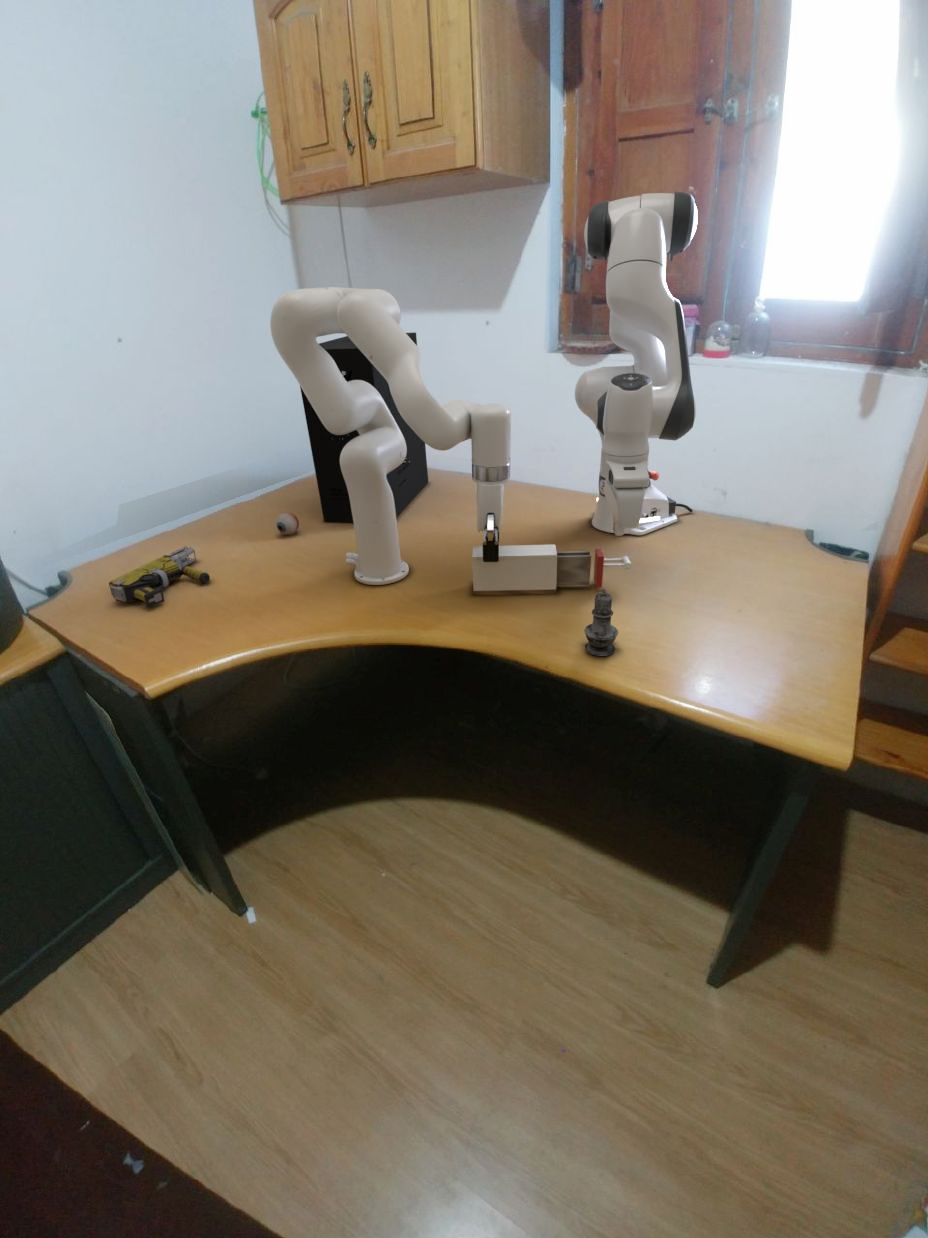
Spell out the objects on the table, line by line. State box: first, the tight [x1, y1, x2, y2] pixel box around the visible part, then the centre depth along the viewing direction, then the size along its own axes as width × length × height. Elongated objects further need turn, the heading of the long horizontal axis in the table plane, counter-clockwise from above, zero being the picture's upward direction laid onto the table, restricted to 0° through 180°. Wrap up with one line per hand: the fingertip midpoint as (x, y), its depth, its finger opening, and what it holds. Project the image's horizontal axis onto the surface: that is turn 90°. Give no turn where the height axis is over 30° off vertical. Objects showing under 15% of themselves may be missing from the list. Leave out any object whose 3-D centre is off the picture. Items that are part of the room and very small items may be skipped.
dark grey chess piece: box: [583, 588, 619, 657], centre depth 105 cm, size 6×6×12 cm
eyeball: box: [275, 511, 300, 536], centre depth 163 cm, size 6×6×6 cm
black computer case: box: [299, 332, 429, 523], centre depth 175 cm, size 38×20×45 cm, turn 167°
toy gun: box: [108, 545, 211, 609], centre depth 140 cm, size 5×24×15 cm
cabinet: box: [471, 543, 558, 596], centre depth 128 cm, size 18×6×9 cm, turn 87°
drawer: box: [556, 547, 633, 589], centre depth 127 cm, size 22×4×7 cm, turn 87°
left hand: (491, 551), depth 127 cm, fingers open, 9 cm apart
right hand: (618, 532), depth 123 cm, fingers closed
